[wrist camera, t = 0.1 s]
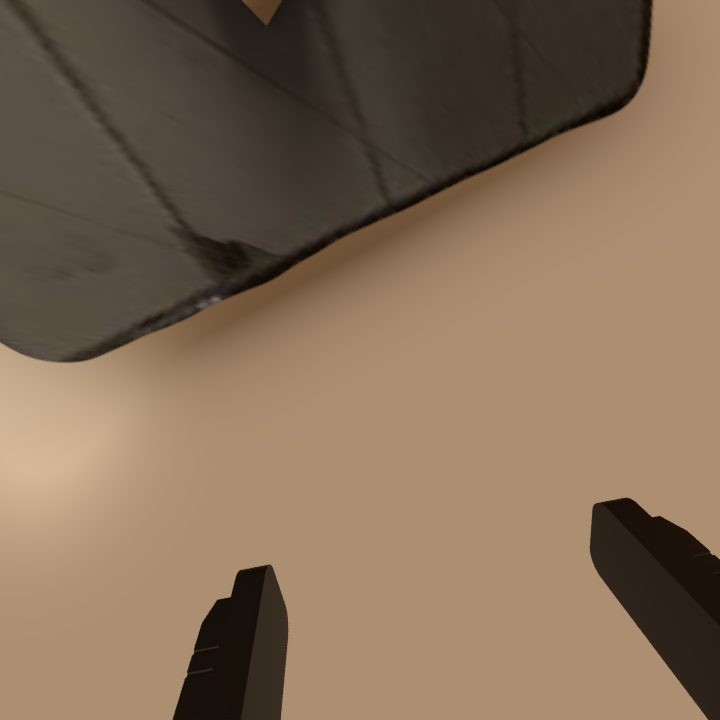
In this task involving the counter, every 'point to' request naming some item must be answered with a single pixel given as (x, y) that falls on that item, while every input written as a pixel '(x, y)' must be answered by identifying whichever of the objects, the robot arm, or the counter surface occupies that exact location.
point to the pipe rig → (263, 8)
